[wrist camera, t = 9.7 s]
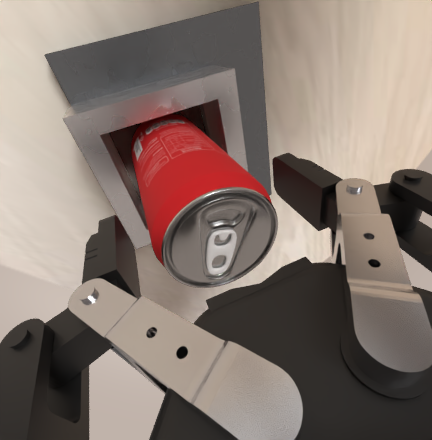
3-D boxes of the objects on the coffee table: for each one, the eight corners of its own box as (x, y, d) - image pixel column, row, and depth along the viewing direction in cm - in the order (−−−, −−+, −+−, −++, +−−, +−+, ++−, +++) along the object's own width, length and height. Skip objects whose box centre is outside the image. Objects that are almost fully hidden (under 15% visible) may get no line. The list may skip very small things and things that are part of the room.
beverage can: (201, 111, 18) (299, 179, 9) (196, 177, 21) (266, 280, 12) (127, 106, 16) (153, 184, 7) (131, 179, 19) (155, 303, 10)
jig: (251, 3, 16) (292, -9, 12) (266, 189, 24) (292, 213, 21) (47, 54, 14) (28, 57, 10) (142, 236, 22) (149, 271, 19)
